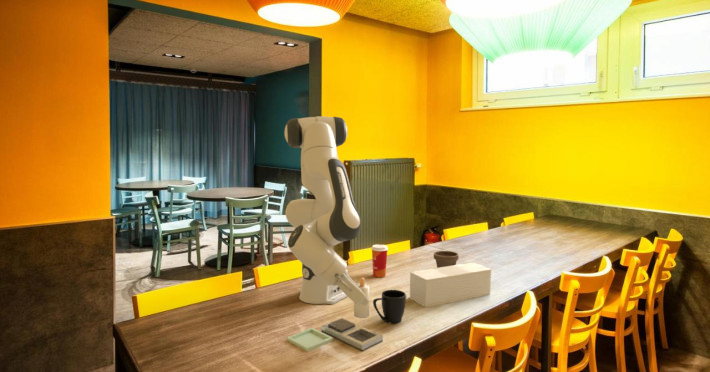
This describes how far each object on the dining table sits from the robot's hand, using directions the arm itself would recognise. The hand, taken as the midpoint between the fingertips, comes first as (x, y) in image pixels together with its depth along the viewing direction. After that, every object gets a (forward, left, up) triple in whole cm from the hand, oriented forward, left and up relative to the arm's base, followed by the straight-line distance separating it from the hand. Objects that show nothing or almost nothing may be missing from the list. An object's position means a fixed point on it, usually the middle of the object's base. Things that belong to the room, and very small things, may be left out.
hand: (363, 299), depth 128 cm
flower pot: (-77, -20, -14) cm, 80 cm away
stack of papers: (-54, -3, -14) cm, 56 cm away
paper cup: (-53, -40, -14) cm, 68 cm away
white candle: (+1, 0, -5) cm, 5 cm away
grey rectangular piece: (0, -5, -14) cm, 15 cm away
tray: (+11, -12, -14) cm, 21 cm away
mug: (-18, -5, -14) cm, 23 cm away
